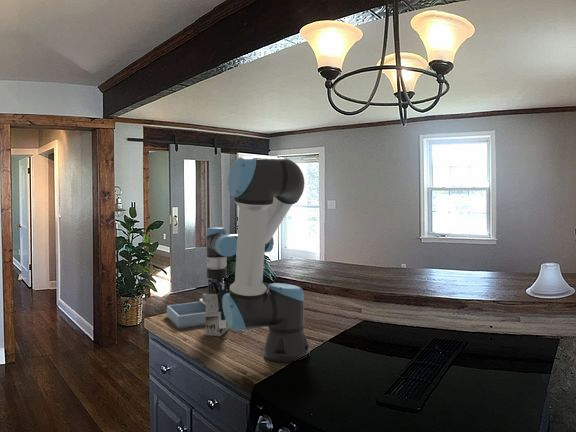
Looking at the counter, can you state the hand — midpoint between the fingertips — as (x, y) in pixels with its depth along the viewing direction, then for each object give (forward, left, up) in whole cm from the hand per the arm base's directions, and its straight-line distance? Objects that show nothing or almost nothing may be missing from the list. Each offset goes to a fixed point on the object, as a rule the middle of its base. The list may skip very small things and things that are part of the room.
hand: (217, 324), depth 168 cm
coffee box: (0, 0, -3) cm, 3 cm away
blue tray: (+22, +2, -3) cm, 22 cm away
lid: (+22, -13, +2) cm, 26 cm away
